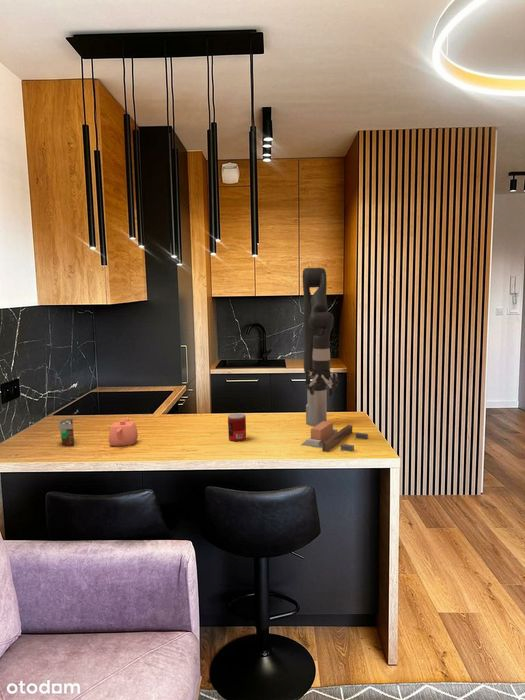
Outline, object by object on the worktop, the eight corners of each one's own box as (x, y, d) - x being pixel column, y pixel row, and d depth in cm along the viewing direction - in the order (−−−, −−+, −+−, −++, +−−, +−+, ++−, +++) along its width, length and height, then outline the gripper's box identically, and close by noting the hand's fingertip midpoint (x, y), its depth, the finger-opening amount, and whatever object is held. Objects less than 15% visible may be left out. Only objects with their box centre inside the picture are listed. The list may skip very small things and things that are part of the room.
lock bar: (310, 442, 221) (310, 428, 220) (323, 433, 233) (323, 420, 232) (320, 443, 219) (320, 430, 218) (332, 435, 231) (332, 422, 230)
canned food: (249, 438, 230) (248, 414, 229) (239, 442, 224) (239, 418, 222) (235, 435, 234) (234, 412, 233) (225, 440, 228) (224, 416, 226)
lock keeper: (301, 444, 219) (301, 439, 219) (321, 431, 238) (321, 426, 238) (322, 448, 214) (322, 442, 214) (341, 434, 233) (341, 429, 233)
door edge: (322, 451, 210) (322, 443, 209) (348, 432, 236) (348, 424, 235) (326, 452, 209) (326, 443, 208) (352, 432, 235) (352, 425, 234)
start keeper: (340, 449, 211) (340, 445, 211) (357, 436, 228) (357, 432, 228) (352, 451, 209) (352, 446, 208) (367, 438, 226) (367, 433, 226)
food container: (59, 440, 234) (57, 419, 232) (74, 438, 236) (72, 417, 234) (59, 448, 222) (57, 426, 221) (74, 446, 224) (72, 424, 223)
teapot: (105, 449, 219) (103, 426, 218) (116, 437, 237) (115, 415, 235) (132, 449, 219) (131, 425, 218) (141, 436, 237) (140, 414, 235)
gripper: (340, 358, 221) (340, 395, 223) (309, 356, 228) (310, 392, 230) (333, 360, 214) (333, 398, 217) (302, 358, 222) (303, 395, 224)
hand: (321, 395), depth 223 cm, fingers open, 8 cm apart
